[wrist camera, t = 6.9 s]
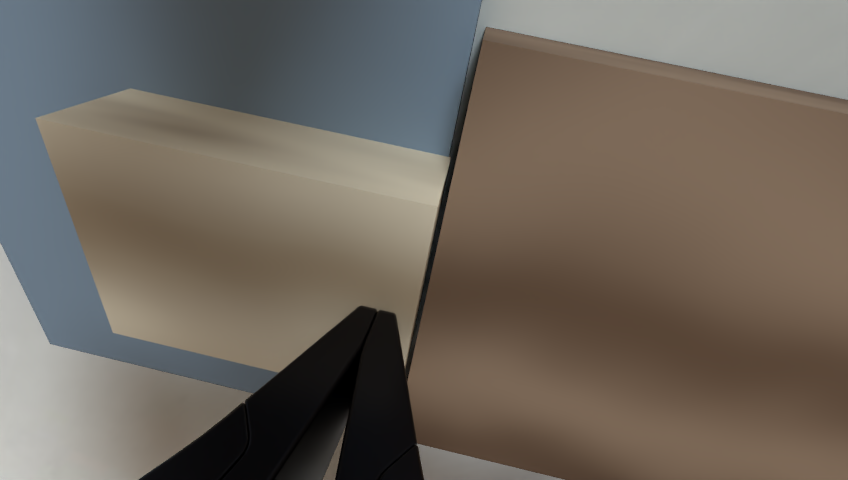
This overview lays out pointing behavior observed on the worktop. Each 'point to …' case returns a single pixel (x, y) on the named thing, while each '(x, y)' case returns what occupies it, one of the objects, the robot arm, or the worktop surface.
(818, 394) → the walnut board
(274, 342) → the beech tile
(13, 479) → the worktop surface
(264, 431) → the robot arm
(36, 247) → the rubber mat
